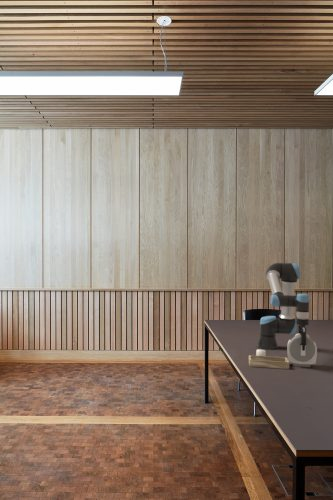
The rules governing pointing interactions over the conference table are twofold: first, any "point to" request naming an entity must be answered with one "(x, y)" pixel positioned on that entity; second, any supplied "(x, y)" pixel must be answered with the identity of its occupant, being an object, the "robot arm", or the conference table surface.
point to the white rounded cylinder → (260, 352)
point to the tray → (268, 362)
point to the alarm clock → (295, 351)
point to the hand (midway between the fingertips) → (301, 353)
